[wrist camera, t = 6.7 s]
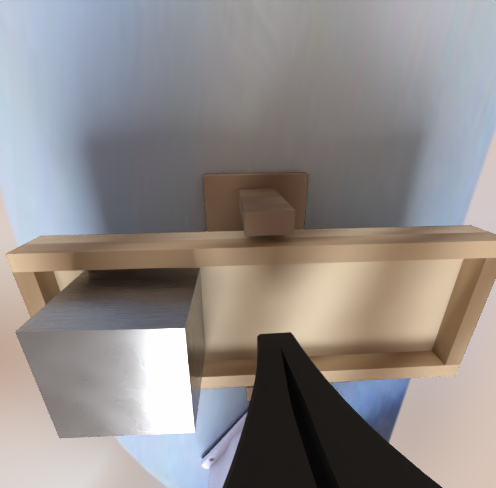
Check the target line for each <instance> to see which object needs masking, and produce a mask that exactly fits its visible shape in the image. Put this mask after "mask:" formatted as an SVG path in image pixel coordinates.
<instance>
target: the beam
mask: <svg viewBox="0 0 496 488" xmlns="http://www.w3.org/2000/svg"><path fill="white" fill-rule="evenodd" d="M5 255H6V258H7V260H8V263H9V265H10V267H11V270H12V272H13V275H14V277H15V280H16V282H17V285H18V287H19V290H20V292H21V295H22V297H23V299H24V302H25V304H26V307H27V309H28V312H29V314H30V317H31V318H32V317H33V316H34V315H35V314H36V313H37V312H38V311H39V310H41V309H42V308H43V307H44V306H45V305H46V304H47V303H48V302H50V301H51V300H52V299H53V298H54V297H55V296H56V295H57V294H59V293H60V292H61V291H62V290H63V289H64V288H65V287H66V286H68V285H69V284H70V283H71V282H72V281H73V280H74V279H75V278H76V277H78V276H79V275H80V274H81V273H82V272H83V271H84V270H110V269H143V268H200V273H201V289H202V305H203V322H204V338H205V359H204V366H203V374H202V381H201V389H206V388H226V387H245V386H254V381H255V375H256V369H257V336H258V335H259V334H268V333H285V332H291V333H292V334H293V335H294V337H295V338H296V340H297V341H298V343H299V344H300V346H301V347H302V348H303V350H304V351H305V353H306V354H307V355H308V357H309V358H310V359H311V361H312V362H313V363H314V364H315V366H316V367H317V368H318V369H319V371H320V372H321V373H322V374H323V376H324V377H325V378H326V379H327V380H328V382H343V381H363V380H382V379H402V378H420V377H441V376H455V375H456V373H457V371H458V368H459V365H460V363H461V361H462V359H463V356H464V354H465V351H466V349H467V346H468V344H469V342H470V339H471V337H472V334H473V332H474V329H475V327H476V325H477V322H478V320H479V318H480V315H481V313H482V310H483V308H484V305H485V303H486V301H487V298H488V296H489V293H490V291H491V289H492V286H493V284H494V281H495V279H496V234H493V233H490V232H488V231H485V230H482V229H480V228H477V227H474V226H472V225H461V226H420V227H379V228H338V229H297V230H294V235H265V236H245V234H244V231H215V232H174V233H133V234H92V235H51V236H40V237H38V238H36V239H34V240H32V241H30V242H28V243H26V244H24V245H22V246H20V247H18V248H16V249H14V250H12V251H10V252H8V253H6V254H5Z"/></svg>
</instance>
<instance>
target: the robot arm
mask: <svg viewBox="0 0 496 488" xmlns="http://www.w3.org/2000/svg"><path fill="white" fill-rule="evenodd" d="M201 466H202V467H203V468H206V469H209V482H208V488H442V487H441V486H440V485H438V484H437V483H436V482H435V481H433V480H432V479H431V478H430V477H428V476H427V475H425V474H424V473H423V472H422V471H421V470H420V469H419V468H417V467H416V466H415V465H414V464H413V463H412V462H410V461H409V460H408V459H407V458H406V457H405V456H403V455H402V454H401V453H400V452H399V451H397V450H396V449H395V448H394V447H393V446H392V445H390V444H389V443H388V442H387V441H386V440H385V439H384V438H383V437H382V436H381V435H380V434H378V433H377V432H376V431H375V430H374V429H373V428H372V427H371V426H370V425H369V424H368V423H367V422H366V421H365V420H364V419H363V418H362V417H361V416H360V415H359V414H358V413H357V412H356V411H355V410H354V409H353V408H352V407H351V406H350V405H349V404H348V403H347V402H346V401H345V400H344V399H343V397H342V396H341V395H340V394H339V393H338V392H337V391H336V390H335V389H334V387H333V386H332V385H331V384H330V383H329V382H328V380H327V379H326V378H325V377H324V376H323V374H322V373H321V372H320V371H319V369H318V368H317V367H316V366H315V364H314V363H313V362H312V361H311V359H310V358H309V357H308V355H307V354H306V353H305V351H304V350H303V348H302V347H301V346H300V344H299V343H298V341H297V340H296V338H295V337H294V335H293V334H292V333H291V332H285V333H268V334H259V335H258V336H257V369H256V375H255V381H254V386H253V391H252V395H251V400H250V404H249V408H248V412H247V413H246V414H245V415H244V416H243V417H242V418H241V419H240V420H239V421H238V422H237V423H236V424H235V425H234V427H233V428H232V429H231V430H230V431H229V432H228V433H227V434H226V435H225V436H224V437H223V438H222V439H221V440H220V441H219V442H218V444H217V445H216V446H215V447H214V448H213V449H212V450H211V451H210V452H209V453H208V454H207V455H206V456H205V457H204V458H203V459H202V461H201Z"/></svg>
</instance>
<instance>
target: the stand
mask: <svg viewBox="0 0 496 488" xmlns="http://www.w3.org/2000/svg"><path fill="white" fill-rule="evenodd" d="M307 182H308V174H307V173H305V172H293V173H237V174H204V175H203V188H204V202H205V215H206V229H207V232H215V231H244V234H245V236H265V235H294V230H297V229H304V220H305V208H306V195H307ZM252 391H253V386H246V393H247V401H250V400H251V395H252Z"/></svg>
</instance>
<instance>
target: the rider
mask: <svg viewBox="0 0 496 488" xmlns="http://www.w3.org/2000/svg"><path fill="white" fill-rule="evenodd" d="M16 335H17V337H18V339H19V342H20V344H21V347H22V349H23V352H24V354H25V356H26V359H27V361H28V364H29V366H30V368H31V371H32V373H33V376H34V378H35V380H36V383H37V385H38V388H39V390H40V392H41V395H42V397H43V400H44V402H45V404H46V407H47V409H48V411H49V414H50V417H51V419H52V421H53V423H54V426H55V428H56V431H57V433H58V436H59V438H75V437H100V436H123V435H147V434H170V433H193V432H195V427H196V419H197V412H198V404H199V396H200V389H201V381H202V374H203V366H204V359H205V338H204V322H203V305H202V289H201V273H200V268H143V269H110V270H84V271H83V272H82V273H81V274H80V275H79V276H78V277H76V278H75V279H74V280H73V281H72V282H71V283H70V284H69V285H68V286H66V287H65V288H64V289H63V290H62V291H61V292H60V293H59V294H57V295H56V296H55V297H54V298H53V299H52V300H51V301H50V302H48V303H47V304H46V305H45V306H44V307H43V308H42V309H41V310H39V311H38V312H37V313H36V314H35V315H34V316H33V317H32V318H30V319H29V320H28V321H27V322H26V323H25V324H24V325H23V326H22V327H20V328H19V329H18V330H17V331H16Z"/></svg>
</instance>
